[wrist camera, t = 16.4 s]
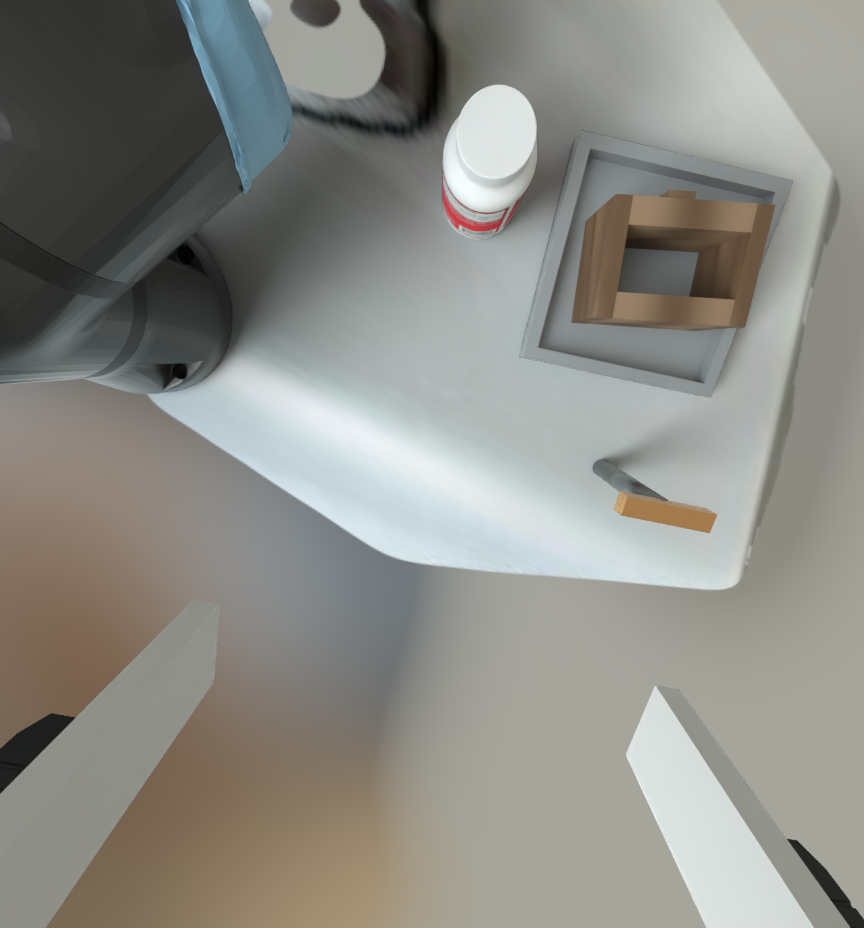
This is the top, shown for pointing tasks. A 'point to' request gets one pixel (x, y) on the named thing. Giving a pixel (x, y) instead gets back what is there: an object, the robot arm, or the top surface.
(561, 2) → the top surface
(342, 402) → the top surface
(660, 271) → the tray
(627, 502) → the t-shaped peg
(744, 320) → the brown wooden open box
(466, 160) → the pill bottle
